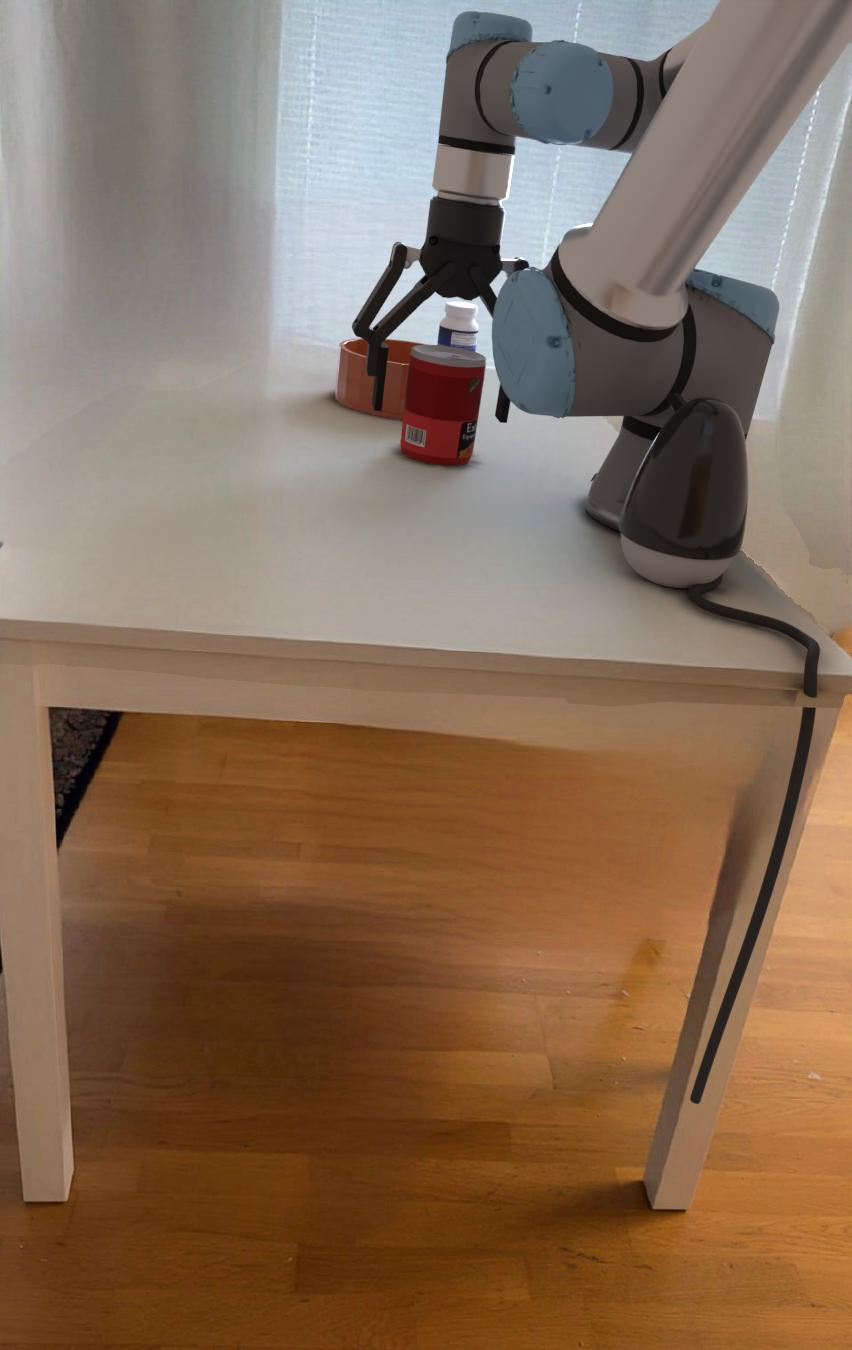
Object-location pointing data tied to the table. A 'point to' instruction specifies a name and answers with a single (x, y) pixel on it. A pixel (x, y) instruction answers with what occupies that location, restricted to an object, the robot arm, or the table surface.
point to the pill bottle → (459, 326)
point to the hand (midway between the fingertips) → (439, 414)
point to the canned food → (442, 404)
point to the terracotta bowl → (358, 386)
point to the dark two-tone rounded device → (688, 496)
